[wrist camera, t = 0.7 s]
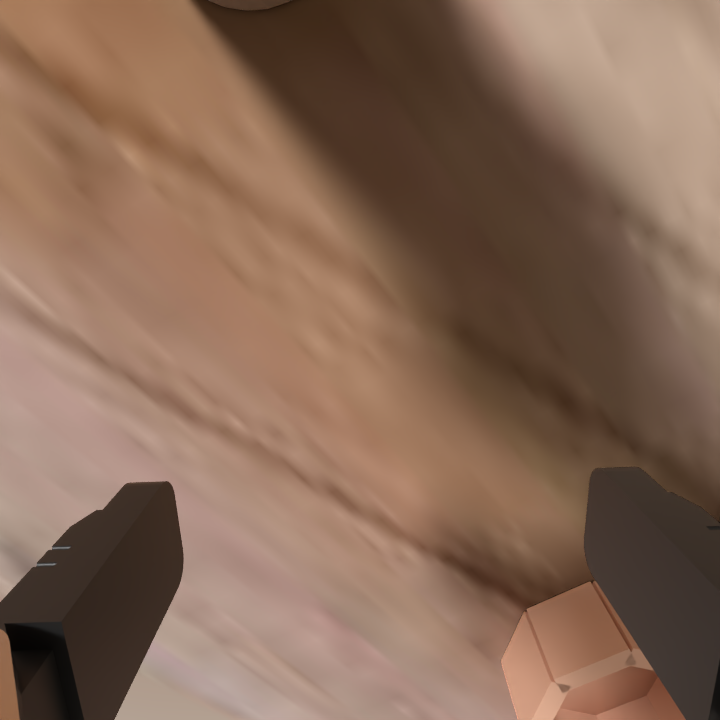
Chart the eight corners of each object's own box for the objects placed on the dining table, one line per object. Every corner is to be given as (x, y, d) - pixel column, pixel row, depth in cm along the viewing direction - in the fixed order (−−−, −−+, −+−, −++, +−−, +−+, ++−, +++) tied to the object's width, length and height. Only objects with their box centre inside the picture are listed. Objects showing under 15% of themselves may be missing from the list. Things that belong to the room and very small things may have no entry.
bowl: (543, 569, 32) (574, 636, 27) (706, 605, 33) (763, 675, 28) (484, 696, 36) (503, 774, 31) (633, 725, 37) (674, 805, 32)
